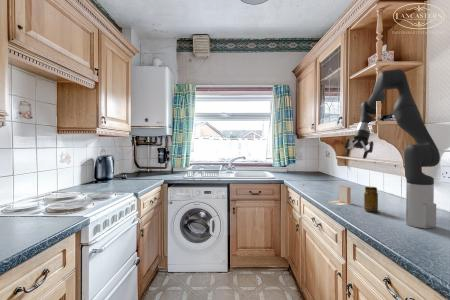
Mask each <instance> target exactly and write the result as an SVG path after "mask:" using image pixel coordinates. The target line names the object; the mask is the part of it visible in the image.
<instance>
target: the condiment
mask: <svg viewBox="0 0 450 300" xmlns="http://www.w3.org/2000/svg"><path fill="white" fill-rule="evenodd" d="M363 209H364V212H365V213H372V214H377V215H378V214H383V213H384V212H385V211H383V210H379V193H378V188H377V187H376V186H365V188H364V193H363ZM378 211H379V212H378Z"/></svg>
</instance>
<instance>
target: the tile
mask: <svg viewBox="0 0 450 300" xmlns="http://www.w3.org/2000/svg"><path fill="white" fill-rule="evenodd" d="M351 189H352V187H351V186H346V185H338V201H340V202H343V203H347V204H346V205H350V204H349V203H351V200H352V199H351Z"/></svg>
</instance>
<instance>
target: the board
mask: <svg viewBox="0 0 450 300" xmlns="http://www.w3.org/2000/svg"><path fill="white" fill-rule="evenodd" d="M330 203H331V204H333V205H337V206H344V205H352V204H353V203H349V204H347V203H343V202H340V201H339V200H333V201H329V204H330Z"/></svg>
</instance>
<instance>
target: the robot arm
mask: <svg viewBox="0 0 450 300" xmlns="http://www.w3.org/2000/svg"><path fill="white" fill-rule="evenodd" d="M394 89H396V90H397V91H398V97H397V99H396V101H395V103H394V105H393V106H394V107H393V109H392V111H393V116H394V119H395V121H396V123H397V125H398V126H399V127H400V128H401V129H402V130H403V131H404V132H405V133H406V134H408V135H409V136H410V137H412V139H413V140H414V141H415V143H416V144H409V145H407V146H406V148H405V150H404V154H403V157H404V158H403V161H404V177H405V179H406V185H405V186H406V189H405V190H406V191H405V193H406V194H405V196H406V197H405V199H406V201H405V221H406V222H405V224H406V225H408V226H411V227H414V228H419V229H420V228H421V229H426V230H427V229H434V228H437V203H435V202H434V200H435V199H434V198H435V196H434V195H435V179H434V176H431V175H428V174H426V173H424V172H423V171H422V168H431V167H436V166H437V165H439V163H440V160H441V155H440V151H439V149H438V147H437V145H436V143H435V142H434V139H433V138H432V136H431V135H430V133H429V131H428V129H427V126H426V125H425V123H424V122H425V121H424V120H423V118H422V115H421V113H420V110H419V108H418V106H417V103H416V101H415V99H414V97H413V94H412V92H411V88H410V85H409V82H408V78H407V75H406V73H405V71H404V70H403V68H402V69H401V68H396V69H389V70H387V69H386V70H382V71H381V72H380V73H378V76H377V78H376V82H375V84H374V87H373V91H372V94H371V95H370V97H369V98H368V100H365V101H363V102H362V103H361V105H360V110H359V112H360V118H359V122H358V125H357V127H356V130H355V134H354V136H353V139H350V138H347V139H346V142H345V144H344V149H345V150H346V152H345V155H346V157H350V155H351V151H352V150H354V149H360V150H362V149H363V151H364V152H363V154H362V155H363V156H362V159H363V160H365V159H367V157H368V155H369V153H370V154H372V153H373V150H374V145H375V143H374V141H372V140H371V141H369V139H370V135H371V133H370V131H369V127H368V123H369V122H371V121H373V122H374V117H373V116H377V115H376V101H381V105H383V103H384V101H385V100H386V93H385V91H386V90H387V91H388V90H394ZM384 90H385V91H384ZM367 146H369V149H368V148H367Z"/></svg>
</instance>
